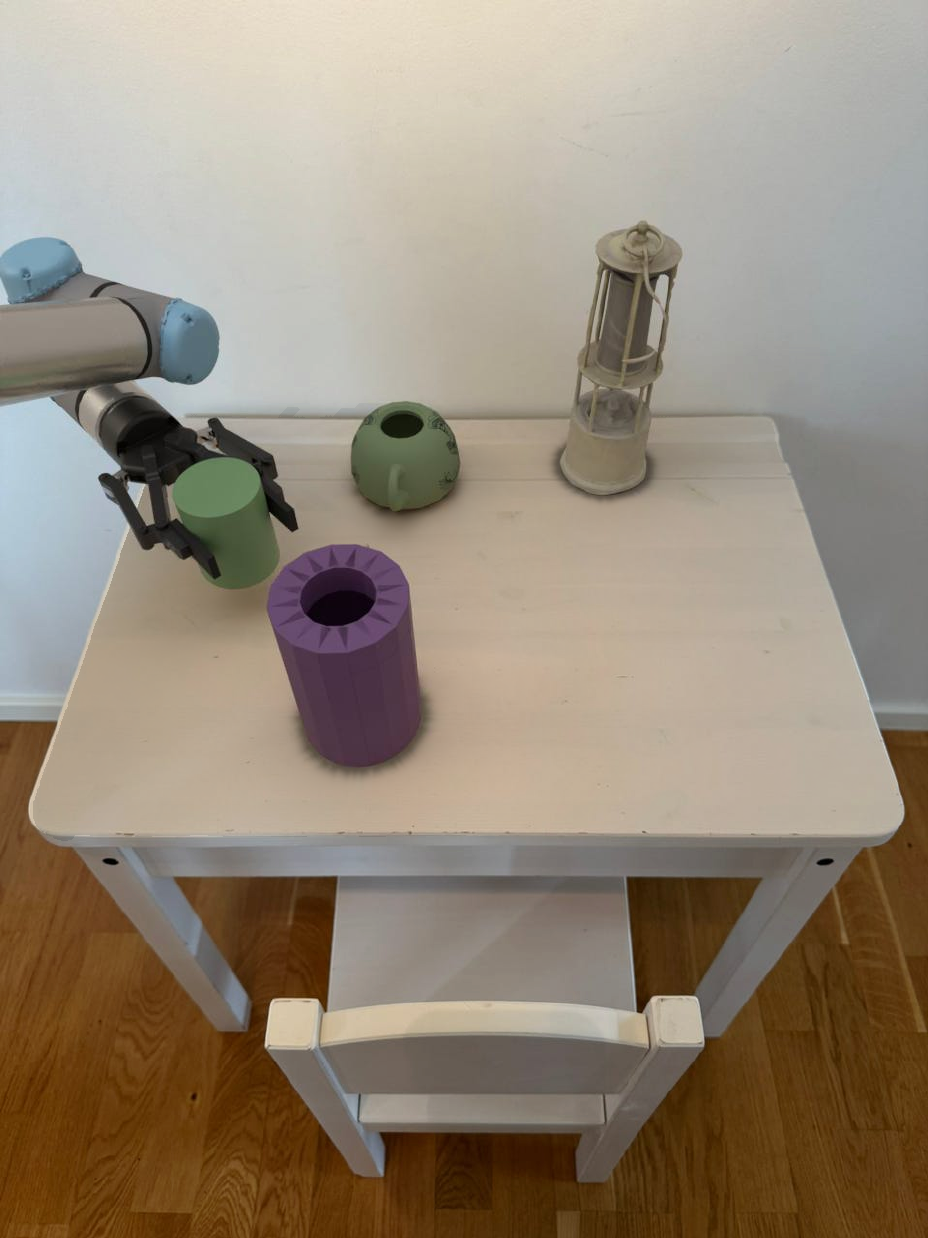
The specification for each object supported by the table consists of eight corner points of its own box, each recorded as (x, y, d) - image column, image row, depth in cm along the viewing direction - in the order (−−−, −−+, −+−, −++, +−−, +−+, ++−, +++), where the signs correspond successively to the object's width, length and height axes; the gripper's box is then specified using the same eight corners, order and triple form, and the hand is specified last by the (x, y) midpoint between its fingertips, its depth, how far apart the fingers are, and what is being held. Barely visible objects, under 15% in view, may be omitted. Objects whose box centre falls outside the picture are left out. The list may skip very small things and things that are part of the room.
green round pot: (361, 441, 107) (353, 383, 100) (465, 445, 106) (464, 387, 99) (339, 534, 97) (329, 477, 90) (453, 540, 96) (451, 483, 90)
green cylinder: (183, 572, 86) (153, 499, 78) (232, 521, 90) (208, 447, 82) (248, 600, 83) (224, 528, 75) (295, 546, 88) (277, 472, 80)
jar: (298, 767, 79) (258, 654, 65) (310, 667, 86) (276, 545, 72) (419, 766, 79) (406, 651, 65) (422, 666, 86) (410, 542, 72)
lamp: (639, 436, 107) (685, 193, 83) (656, 510, 99) (711, 265, 75) (556, 438, 107) (578, 196, 83) (566, 512, 99) (593, 268, 75)
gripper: (225, 413, 97) (348, 517, 87) (54, 501, 89) (167, 629, 78) (209, 356, 92) (339, 461, 81) (24, 445, 83) (141, 575, 72)
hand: (254, 543), depth 80 cm, fingers closed on green cylinder, 8 cm apart
